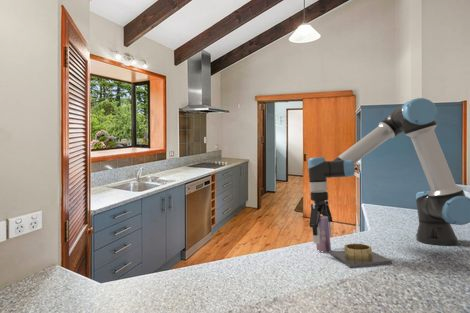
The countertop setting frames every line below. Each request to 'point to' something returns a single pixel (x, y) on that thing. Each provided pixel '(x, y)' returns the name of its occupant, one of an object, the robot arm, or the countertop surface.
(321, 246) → the beverage can
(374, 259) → the pipe socket
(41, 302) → the countertop surface
